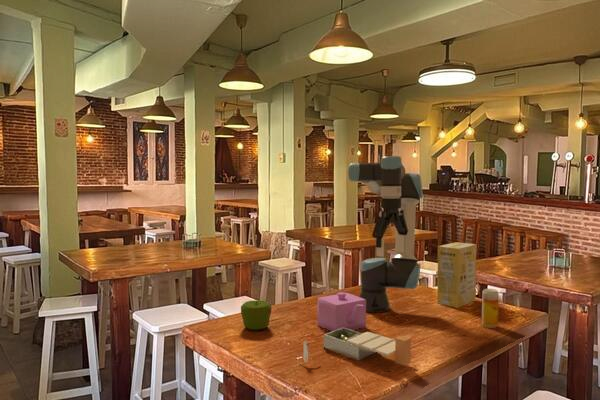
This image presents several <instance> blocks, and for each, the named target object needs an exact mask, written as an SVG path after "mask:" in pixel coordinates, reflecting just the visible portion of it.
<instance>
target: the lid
mask: <svg viewBox="0 0 600 400" xmlns="http://www.w3.org/2000/svg"><path fill="white" fill-rule="evenodd" d="M362 333H363V334H360V335H358V336H356V337H353V338H351V339H348V340H347V343H350V344H353V345H356V346H359V347H362V348H365V349H368V350H371V351H374V352H377V353H376V354H380V355H383V356H386V357H389V356H392V355H393V354H394V362H395V363H396V364H398V365H401V366H404V367H405V366H406V365H409V364H411V363H412V362H411V361H412V360H411V359H412V358H411V356H412V355H411V354H412V350H411V349H412V348H411V347H412V346H411V345H412V339H411V337H408V336H404V335H399V336H397V337H395V338H389V337H386V336H384V335H382V334H381V333H380V334H379V333H378V334H377V333H373V332H371V331H366V332H362Z"/></svg>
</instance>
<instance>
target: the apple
mask: <svg viewBox="0 0 600 400" xmlns="http://www.w3.org/2000/svg"><path fill="white" fill-rule="evenodd" d="M240 314H241V319H242V322H243V323H242V324H243V325H244V327H245V328H247V329H248V330H251V331H261V329H262V330H265V329H266V328H267V327H268V326H269V325H270V317H271V315H272V305H271V304H270V303H269V302H267V301H265V300H248V301H245V302H244V303H243V304H241V305H240Z"/></svg>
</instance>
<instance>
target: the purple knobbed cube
mask: <svg viewBox="0 0 600 400" xmlns="http://www.w3.org/2000/svg"><path fill="white" fill-rule="evenodd" d="M318 325H320V326H322V327H324V328H326V329H328V330H330V331H331V332H332V331H334V330H337V329H340V328H342V327H344V328H347V329H350V330H354V331H356V330H355V329H357V330H360V329H359V328H361V329H365V328H366V327H367V312H366V299H363V298H360V297H359V296H357V295H354V294H352V293H348V292H344V291H343V292H341V291H340V292H337V293H336V294H331V295H326V296H322V297H321V296H320V297H317V326H318ZM320 326H319V327H320ZM322 327H321V328H322ZM364 327H365V328H364ZM324 328H323V329H324ZM326 329H325V330H326ZM328 330H327V331H328ZM330 331H329V332H330Z"/></svg>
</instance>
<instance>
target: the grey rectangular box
mask: <svg viewBox="0 0 600 400" xmlns="http://www.w3.org/2000/svg"><path fill="white" fill-rule="evenodd" d="M363 333H364V332H359V331H357V330H350V329H347V328H344V327H342V328H340V329H337V330H334V331H332V332H330V331H329V332H327V333H324V334H323V337H322V338H323V346H322V347H325V348H327V349H330V350H333V351H335V352H338V353H340V354H343V355H345V356H344V357H346V356H348V357H347V358H349V357H350V359H351V358H353V359H352V360H354V359H356V360H355V361H357V360H358V361H357V362H360V361H362V360H364V359H366V358H368V357H367V356H369V357H370V355H371V356H373V355H375V354H377V353H376V352H374V351H371V350H368V349H365V348H362V347H359V346H356V345H353V344H350V343H347V340H348V339H351V338H353V337H356V336H358V335H360V334H363ZM327 349H326V350H327ZM330 350H329V351H330ZM335 352H334V353H335ZM338 353H337V354H338ZM374 353H375V354H374ZM340 354H339V355H340ZM372 354H373V355H372ZM343 355H342V356H343ZM365 357H366V358H365ZM363 358H364V359H363ZM361 359H362V360H361ZM359 360H360V361H359Z"/></svg>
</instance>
